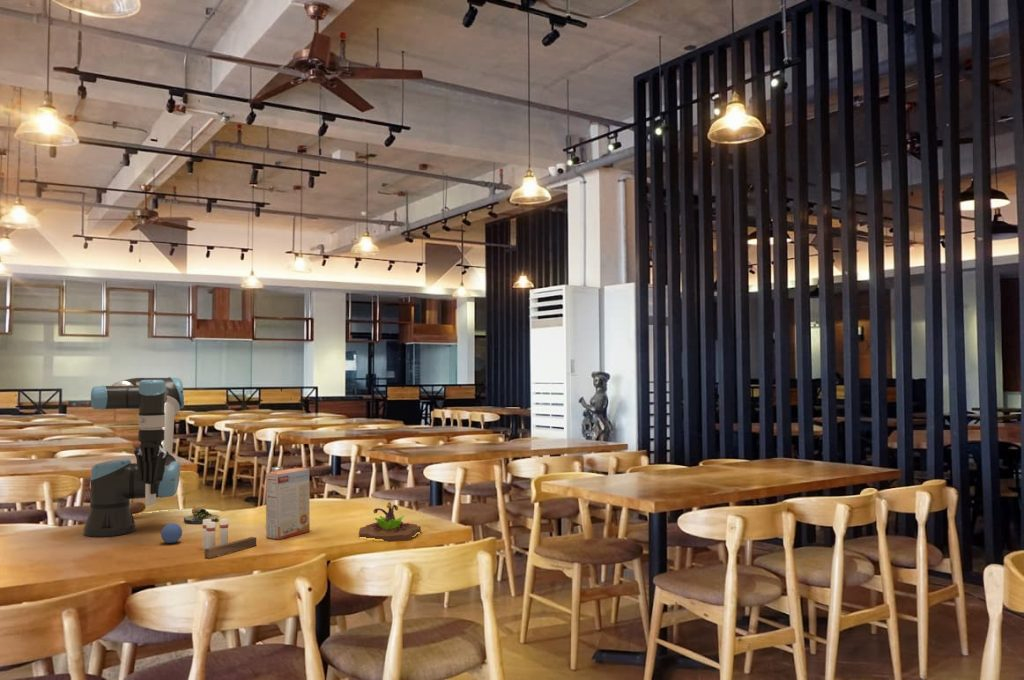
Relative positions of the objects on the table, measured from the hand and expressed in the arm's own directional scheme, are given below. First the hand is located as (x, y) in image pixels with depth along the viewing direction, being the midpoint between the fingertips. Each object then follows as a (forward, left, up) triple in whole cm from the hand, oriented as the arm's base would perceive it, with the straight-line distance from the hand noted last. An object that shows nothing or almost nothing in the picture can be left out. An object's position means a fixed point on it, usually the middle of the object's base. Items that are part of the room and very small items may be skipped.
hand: (150, 504), depth 252 cm
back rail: (+34, 0, -11) cm, 36 cm away
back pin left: (+29, +3, -11) cm, 31 cm away
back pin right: (+29, -2, -11) cm, 31 cm away
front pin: (+24, 0, -11) cm, 27 cm away
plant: (+62, +40, -12) cm, 75 cm away
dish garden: (-10, +29, -12) cm, 33 cm away
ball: (+9, 0, -8) cm, 12 cm away
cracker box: (+33, +25, -12) cm, 43 cm away
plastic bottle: (+20, +34, -11) cm, 41 cm away
